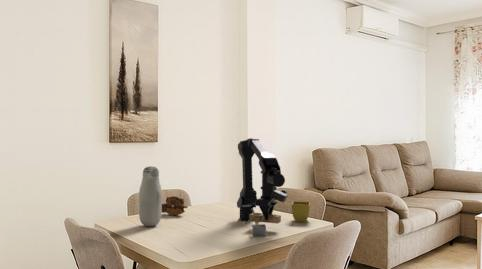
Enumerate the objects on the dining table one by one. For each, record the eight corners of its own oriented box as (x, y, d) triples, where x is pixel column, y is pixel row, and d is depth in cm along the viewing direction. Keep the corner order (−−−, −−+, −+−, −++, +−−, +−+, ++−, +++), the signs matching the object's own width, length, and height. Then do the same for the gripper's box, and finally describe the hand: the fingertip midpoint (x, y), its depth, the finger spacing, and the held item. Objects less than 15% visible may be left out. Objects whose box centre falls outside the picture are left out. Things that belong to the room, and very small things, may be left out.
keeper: (251, 234, 177) (251, 224, 177) (264, 233, 177) (264, 224, 177) (252, 236, 172) (252, 226, 172) (265, 236, 173) (265, 226, 173)
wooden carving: (157, 215, 218) (157, 196, 218) (161, 213, 222) (161, 195, 222) (185, 217, 212) (185, 197, 212) (189, 215, 217) (189, 196, 217)
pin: (254, 229, 186) (254, 220, 185) (255, 228, 187) (255, 219, 187) (257, 229, 185) (257, 220, 185) (259, 228, 186) (259, 220, 186)
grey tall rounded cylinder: (135, 227, 189) (135, 166, 188) (147, 223, 198) (147, 165, 198) (153, 229, 185) (153, 167, 185) (165, 224, 195) (165, 165, 195)
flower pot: (309, 223, 198) (309, 204, 198) (291, 222, 200) (291, 204, 200) (310, 219, 207) (310, 201, 207) (292, 218, 209) (292, 201, 209)
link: (249, 221, 185) (249, 214, 185) (253, 218, 190) (253, 212, 189) (277, 223, 179) (277, 217, 179) (281, 221, 184) (281, 214, 184)
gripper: (279, 187, 172) (279, 224, 172) (291, 182, 189) (291, 216, 189) (254, 186, 176) (254, 222, 176) (268, 181, 194) (268, 214, 194)
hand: (268, 218), depth 184 cm, fingers closed on link, 4 cm apart
